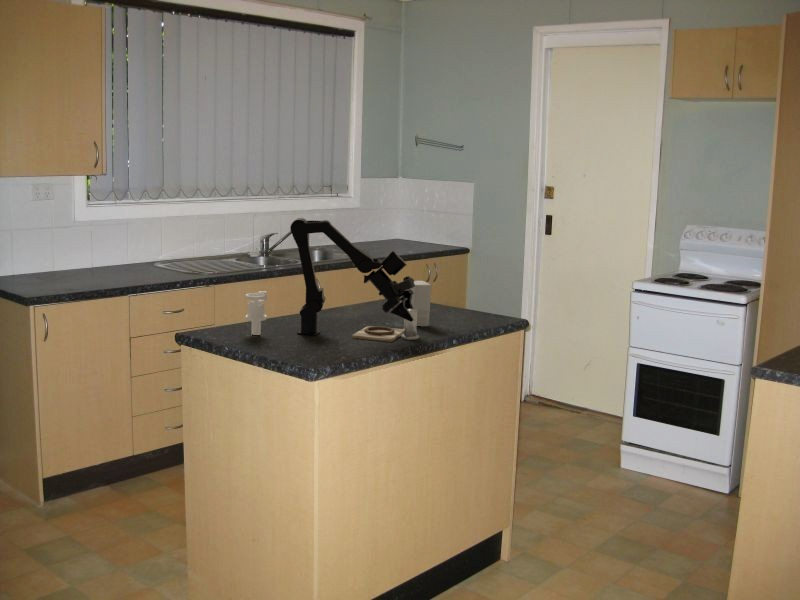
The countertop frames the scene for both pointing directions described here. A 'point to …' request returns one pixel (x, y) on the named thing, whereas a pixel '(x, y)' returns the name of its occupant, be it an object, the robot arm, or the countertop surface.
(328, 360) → the countertop surface
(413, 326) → the aluminium hub pin
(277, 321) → the countertop surface
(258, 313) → the grey stepped cylinder
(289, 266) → the countertop surface
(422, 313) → the skincare box
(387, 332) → the maple board
